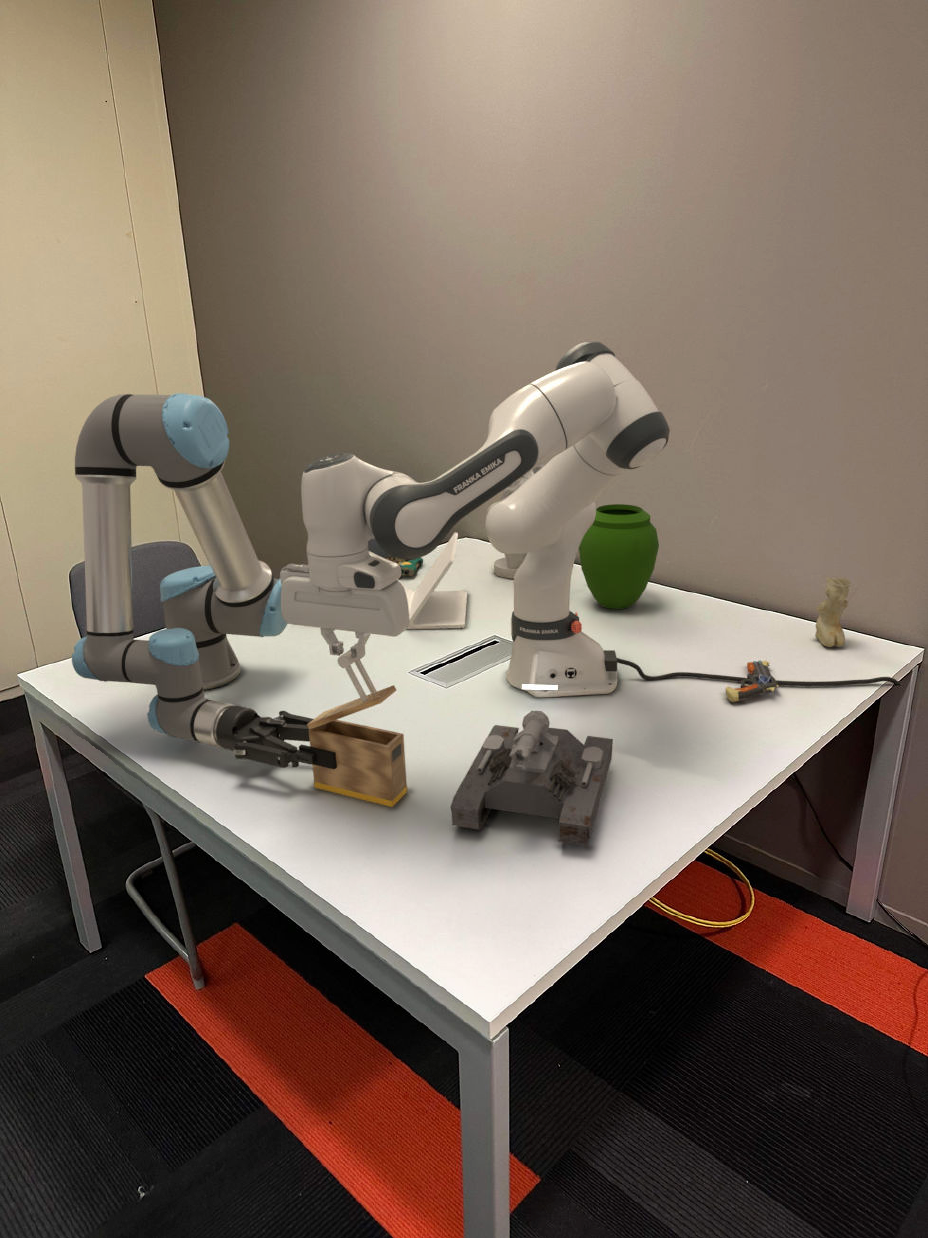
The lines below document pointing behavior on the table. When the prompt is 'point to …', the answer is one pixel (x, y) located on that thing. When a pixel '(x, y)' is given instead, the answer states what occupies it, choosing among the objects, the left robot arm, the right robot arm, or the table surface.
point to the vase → (619, 555)
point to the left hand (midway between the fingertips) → (344, 752)
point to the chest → (361, 762)
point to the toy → (536, 777)
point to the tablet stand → (437, 597)
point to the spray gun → (406, 564)
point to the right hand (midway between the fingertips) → (347, 655)
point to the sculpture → (832, 613)
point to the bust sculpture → (512, 561)
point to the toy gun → (753, 682)
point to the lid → (364, 700)
